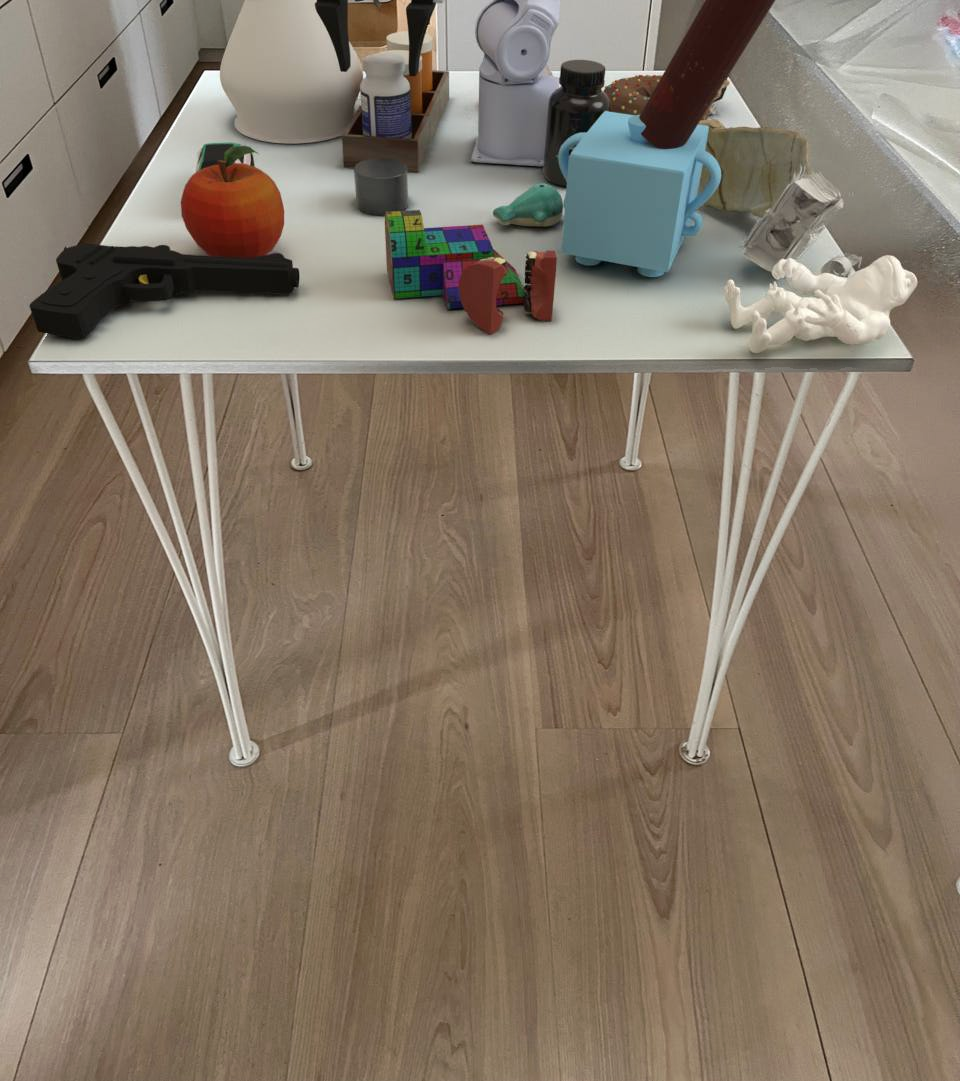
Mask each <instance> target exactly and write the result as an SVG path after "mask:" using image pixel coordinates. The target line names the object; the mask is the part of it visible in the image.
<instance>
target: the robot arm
mask: <svg viewBox="0 0 960 1081" xmlns="http://www.w3.org/2000/svg"><path fill="white" fill-rule="evenodd" d="M444 2H445V0H410V2H409V3H408V5H407V6H406V7H405V14H406V16H405V17H406V23H407V24H406V25H407V31H408V36H409V76H416V75H417V73H418V71H419V60H420V54H421V49H422V44H423V41H424V37H425V33H426V34H427V30H428V26H429V24H430V22H431V19H432V16H433V14H434V10H435V8H436V5H437V4H443V3H444ZM348 8H349V0H317V2H316V3H315V9H316V12H317V13H318V15H319V17H320V18H321V20H322V22H323V24H324V26H325V28H326V30H327V32H328V34H329V36H330V38H331V41H332V44H333V46H334V49H335V52H336V55H337V59H338V63H339V67H340V71H341V72H347V71H348V69H349V68H350V66H351V59H350V47H349V42H350V40H349V20H348V19H349V12H348ZM560 14H561V0H491V1H490V2H489V3H487V4H486V5H485V6H484V7H483V8H482V9H481V11H480V12H479V14H478V16H477V18H476V19H477V20H476V21H475V27H474V36H475V40H476V43H477V46H478V47H479V49H480V50H481V52H482V53H483V58H482V61H481V64H480V66H479V68H478V115H477V116H478V121H477V122H478V123H477V125H478V126H477V131H478V132H477V138H476V141H475V144H474V148H473V150H472V153H471V157H470V162H473V163H482V164H500V165H515V166H530V167H543V164H544V150H545V138H546V126H547V114H548V103H549V98H550V96H551V94H552V93H553V92H554V91H555V90H556V89H558V88H559V87H560V84H559V77H558V76H554V77H552V76H547V75H544V74H542V70H543V69H544V68H545V66H546V64H547V65H548V62H549V59H550V56H551V46H552V40H553V37H554V34H555V32H556V31H557V28H558V27H559V25H560V17H561V16H560Z"/></svg>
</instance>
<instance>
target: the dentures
mask: <svg viewBox="0 0 960 1081" xmlns="http://www.w3.org/2000/svg"><path fill="white" fill-rule="evenodd" d="M525 258H526V259H525V265H524V285H523V287H524V289H525V294H524V299H525V300H524V303H523V307H524V308H523V310H524V312H525V313H526V314H531V315H532V317H533V318H535V319H537V320H538V321H540V322H542V321H543V322H544V321H546V322H548V321H549V322H550V321H551V322H552V321H553V311H554V310H553V308H554V299H555V290H556V289H555V287H556V277H557V265H558V255H557V252H556V251H555V250H546V251H538V250H533V251H529V252H527V253H526V256H525ZM505 260H506V259H505V258H504V259H502V258H495V259H494V257H490V258H487V259H481V260H480V261H478V262H477V263H475V264H473V265H470V266H469V267H467V268H466V269H465V270H464V271H463V272H462V274H461V276H460V279H459V285H458V288H459V296H460V299H461V303H462V305H463V308H462V309H463V310H464V311H465V313H466V314H467V317H469V319H470V320H471V321H472V322H473V323H474V325H476V326H477V327H478V328H479V329H481V330H482V331H483V332H485V333H487V334H489V335H492V334H494V333H496V332H498V331H499V330H500V328H501V326H502V325H503V324H502V323H503V322H504V312H503V311H501V310H500V309H499V308H498V307H497V305H496V296H497V291H498V288H499V285H500V283H501V281H502V280H503V278H504V277H505V272H506V269H505V268H506V267H505V263H506V261H507V260H506V261H505Z"/></svg>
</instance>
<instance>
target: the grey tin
mask: <svg viewBox="0 0 960 1081" xmlns="http://www.w3.org/2000/svg"><path fill="white" fill-rule="evenodd" d="M353 175H354V176H353V178H354V189H355V190H354V191H355V203H356V204H355V206H356V208H357V209H358V210H359V211H360V212H361V213H364V214H368V215H372V216H385V212H394V211H406V209H408V206H409V187H408V186H409V185H408V183H409V182H408V171H407V166H406V165H405V164H404V163H403V162H401V161H398V160H395V159H389V158H373V159H368V160H364V161H361V162H359V163H358V164H356V165H355V167H354V168H353Z"/></svg>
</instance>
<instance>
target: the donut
mask: <svg viewBox="0 0 960 1081" xmlns="http://www.w3.org/2000/svg"><path fill="white" fill-rule="evenodd" d="M661 77H662V75H661V74H660V75H656V74H653V75H651V74H645V75H643V74H635V75H634V76H630V77H623V78H620V79H615V80H613V81H612V82H611V83H610V84H609V85H604V88H603V90H602V91H603V92H605V93H606V94H607V96H608V98H609V100H610V112H614V113H622V114H629V115H640V114H641V112H642V111H643V109H644V107H645V105H646V103H647V102H648V100H649V98H650V96H651V95H652V93H653V91H654V89H655V88H656V86H657V84H658V82H659V81H660V79H661ZM714 103H715V102H714V101H712V103H711V104H710V106H709V107H708V109H707V111H706V112H705V114H704V115H703V117H702V119H701V120H700V121H702V120H708V118H709V116H710V115H711V114H712V113H711V112H710V107H712V105H713V104H714Z"/></svg>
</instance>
